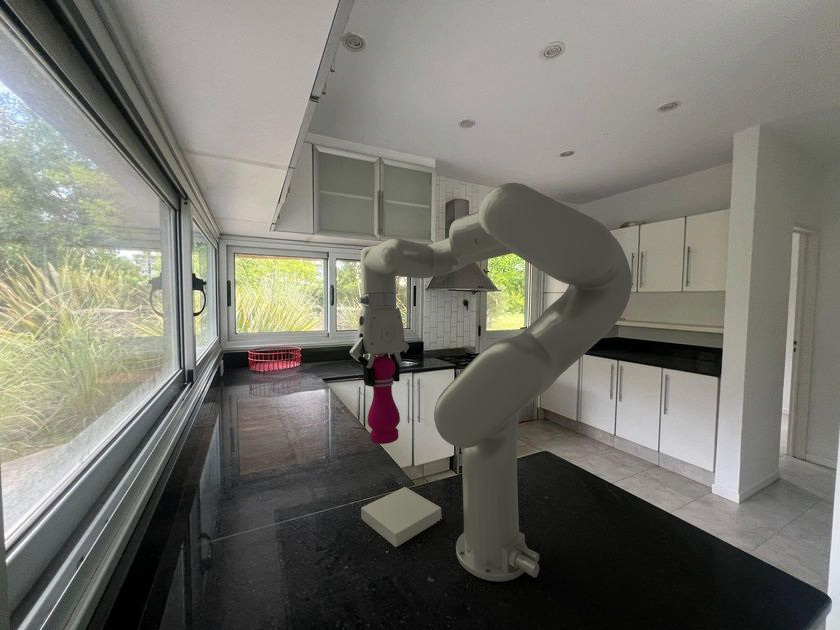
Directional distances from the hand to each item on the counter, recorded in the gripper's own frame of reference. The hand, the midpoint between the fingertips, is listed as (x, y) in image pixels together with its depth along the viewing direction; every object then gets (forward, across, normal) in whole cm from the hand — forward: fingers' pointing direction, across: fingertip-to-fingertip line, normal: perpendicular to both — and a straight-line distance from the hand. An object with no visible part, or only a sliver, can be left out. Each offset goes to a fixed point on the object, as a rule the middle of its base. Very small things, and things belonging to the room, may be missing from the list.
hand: (382, 382), depth 74 cm
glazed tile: (+27, 0, +1) cm, 27 cm away
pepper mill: (+13, 0, 0) cm, 13 cm away
